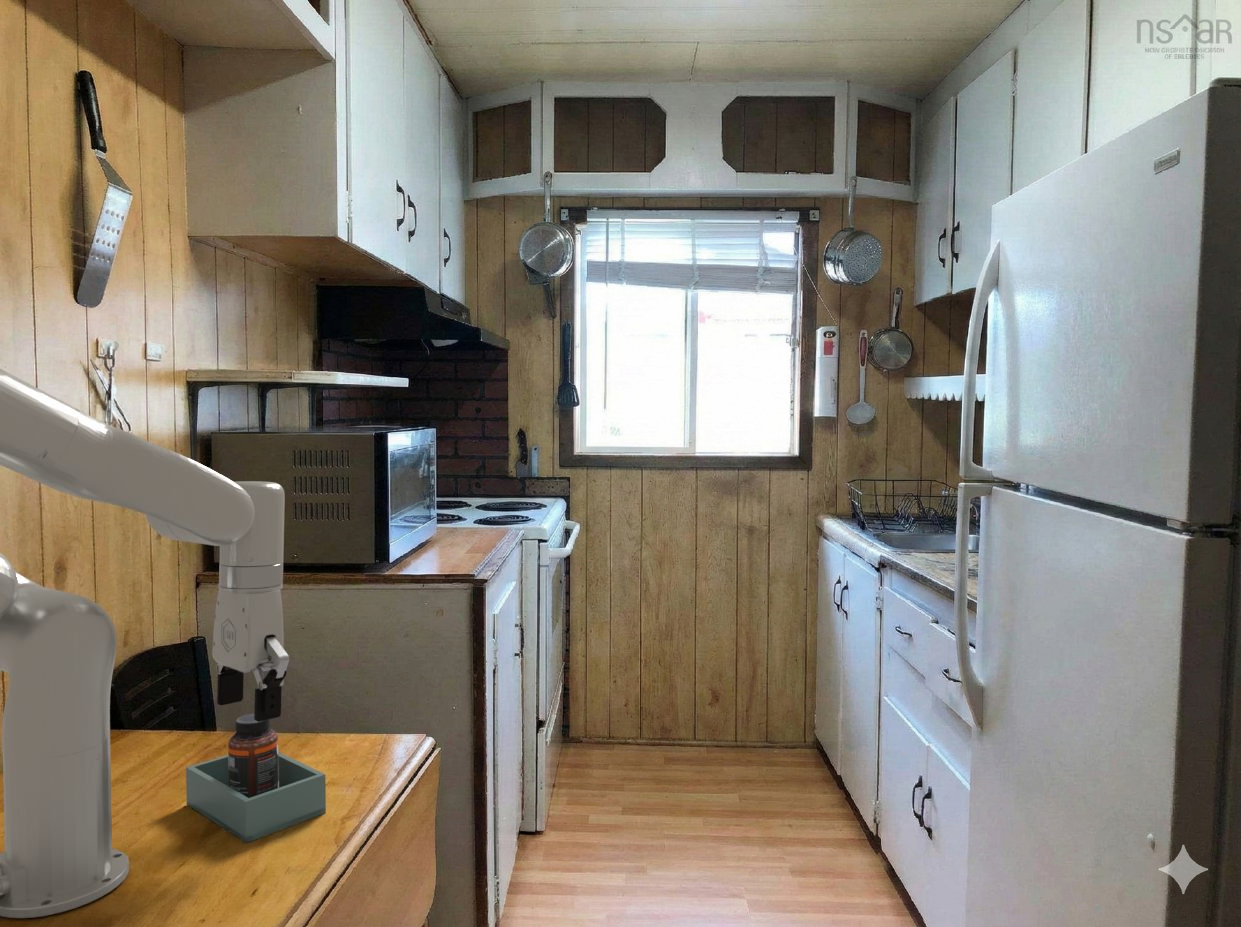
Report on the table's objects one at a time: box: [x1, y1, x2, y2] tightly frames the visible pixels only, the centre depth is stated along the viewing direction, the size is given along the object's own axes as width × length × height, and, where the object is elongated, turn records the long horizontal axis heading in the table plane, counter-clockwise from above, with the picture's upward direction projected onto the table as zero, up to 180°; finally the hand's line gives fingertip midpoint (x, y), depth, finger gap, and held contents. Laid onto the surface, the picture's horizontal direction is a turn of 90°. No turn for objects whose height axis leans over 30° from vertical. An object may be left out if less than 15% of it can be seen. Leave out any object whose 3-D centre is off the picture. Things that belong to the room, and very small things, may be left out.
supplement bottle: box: [227, 713, 279, 798], centre depth 108 cm, size 6×6×11 cm
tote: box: [185, 751, 327, 844], centre depth 108 cm, size 10×16×5 cm, turn 51°
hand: (248, 710), depth 107 cm, fingers open, 9 cm apart
